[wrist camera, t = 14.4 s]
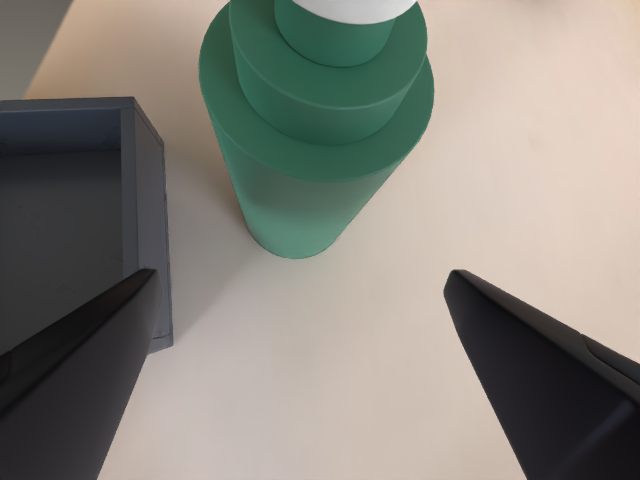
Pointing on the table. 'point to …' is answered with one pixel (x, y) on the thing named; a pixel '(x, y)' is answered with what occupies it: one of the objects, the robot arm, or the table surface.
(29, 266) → the tray
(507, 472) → the table surface
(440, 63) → the table surface
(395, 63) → the bottle
